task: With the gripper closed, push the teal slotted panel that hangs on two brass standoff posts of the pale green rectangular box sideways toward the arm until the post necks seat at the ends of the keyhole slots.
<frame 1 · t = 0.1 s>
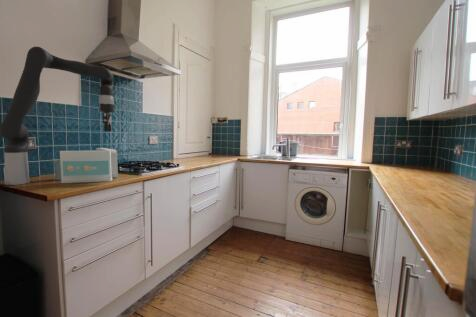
hand: (107, 131, 143), 29 cm above the countertop, tool pointing down, fingers open, 8 cm apart
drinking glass: (65, 179, 147), on the countertop
rounded white slab: (106, 175, 161), on the countertop
panel: (86, 167, 132), point 9 cm above the countertop, slide at 4.0 cm
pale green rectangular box: (87, 181, 140), on the countertop
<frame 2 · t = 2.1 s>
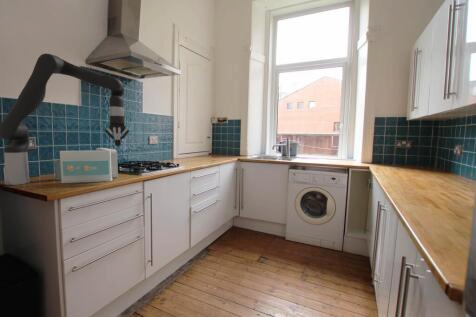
hand: (118, 146, 136), 21 cm above the countertop, tool pointing down, fingers closed
nothing on the countertop moved.
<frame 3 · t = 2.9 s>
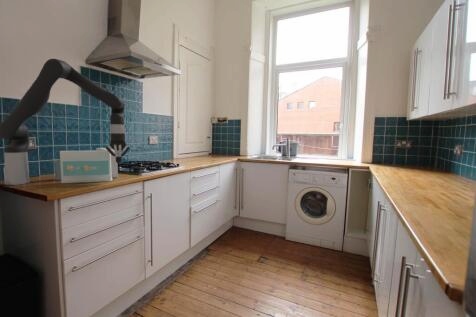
hand: (118, 163, 137), 11 cm above the countertop, tool pointing down, fingers closed
nothing on the countertop moved.
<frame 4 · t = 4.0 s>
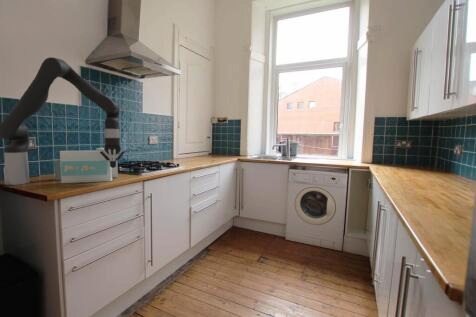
hand: (113, 167, 137), 9 cm above the countertop, tool pointing down, fingers closed
panel: (85, 167, 132), point 9 cm above the countertop, slide at 3.2 cm, touching gripper
everything else where it was.
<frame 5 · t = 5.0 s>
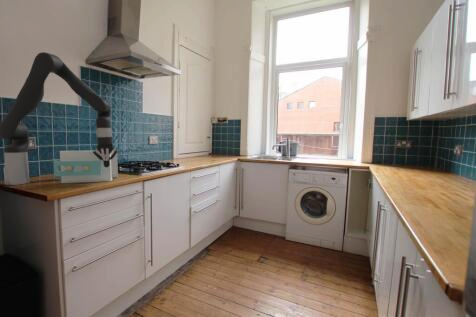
hand: (106, 167, 136), 9 cm above the countertop, tool pointing down, fingers closed
panel: (78, 168, 131), point 9 cm above the countertop, slide at -0.1 cm, touching gripper
everything else where it was.
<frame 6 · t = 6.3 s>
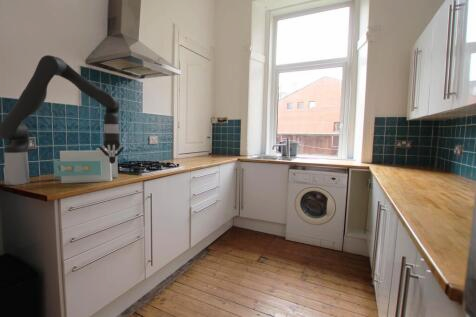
hand: (112, 163, 136), 11 cm above the countertop, tool pointing down, fingers closed
panel: (78, 168, 131), point 9 cm above the countertop, slide at 0.0 cm
everything else where it was.
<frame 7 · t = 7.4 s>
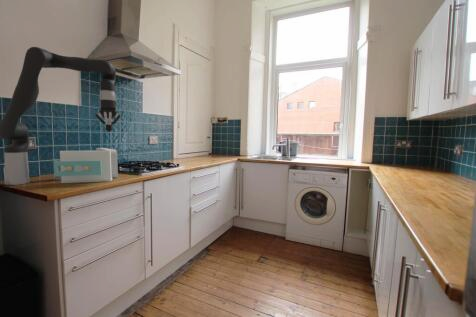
hand: (109, 131, 133), 29 cm above the countertop, tool pointing down, fingers closed
nothing on the countertop moved.
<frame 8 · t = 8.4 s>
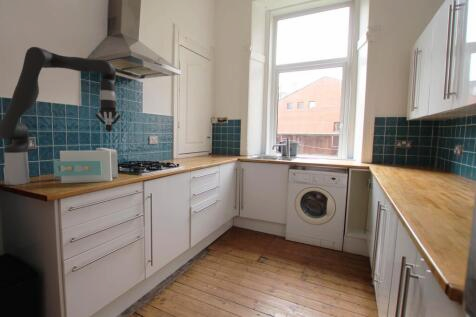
hand: (109, 131, 133), 29 cm above the countertop, tool pointing down, fingers closed
nothing on the countertop moved.
at the end: panel slide at 0.0 cm; the gripper is holding nothing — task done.
